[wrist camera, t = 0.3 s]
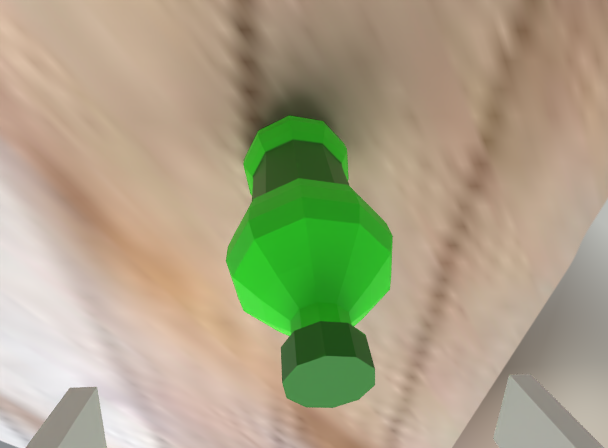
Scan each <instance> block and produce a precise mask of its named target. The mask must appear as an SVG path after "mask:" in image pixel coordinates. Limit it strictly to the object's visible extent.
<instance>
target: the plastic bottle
mask: <svg viewBox="0 0 608 448" xmlns="http://www.w3.org/2000/svg"><path fill="white" fill-rule="evenodd" d="M244 169H245V173H246V177H247V181H248V185H249V189H250V194H251V195H252V203H251V204H250V206H249V208H248V210H247V212H246V214H245V216H244V217H243V219H242V221H241V223H240V225H239V227H238V228H237V230H236V232H235V234H234V236H233V238H232V240H231V242H230V244H229V246H228V250H227V257H226V263H227V266H228V269H229V272H230V275H231V278H232V281H233V284H234V286H235V289H236V292H237V295H238V298H239V301H240V303H241V306H242V308H243V310H244V311H245V312H246V313H248V314H250V315H251V316H253V317H255V318H257V319H258V320H260V321H262V322H263V323H265V324H267V325H268V326H270V327H272V328H274V329H275V330H277V331H279V332H281V333H283V334H286V335H288V336H290V337H289V338H288V339H287V340H286V342H285V343H284V344H283V345H282V347H281V361H282V383H283V387H284V390H285V394H286V397H287V398H288V399H290V400H292V401H294V402H296V403H298V404H300V405H302V406H305V407H321V408H334V407H337V406H340V405H343V404H346V403H349V402H353V401H356V400H359V399H360V398H361V397H362V396H363V395H364V394H365V393H367V392H368V391H369V390H370V389H371V388H372V387H373V386H374V385H375V368H374V364H373V361H372V357H371V353H370V350H369V346H368V342H367V338H366V335H365V334H364V333H362V332H361V331H359V330H358V329H356V328H355V327H354V326H355V325H356V324H357V323H358V322H359V321H361V320H362V319H363V318H364V317H365V316H366V315H367V313H368V312H369V311H370V310H371V309H372V308H373V307H374V306H375V305H376V304H377V303H378V302H379V301H380V299H381V298H382V297H383V296H384V295H385V294H386V293H387V292H388V291H389V290H390V282H391V265H392V237H393V236H392V234H391V232H390V230H389V228H388V226H387V224H386V223H385V222H384V220H383V219H382V218H381V217H380V216H379V215H378V214H377V213H376V212H375V211H374V210H373V209H372V208H371V207H370V206H369V205H368V204H367V203H366V202H365V201H364V200H363V199H362V198H361V197H360V196H359V195H358V194H357V193H356V192H355V191H354V190H353V189H352V188H351V187H350V186H349V183H348V160H347V148H346V146H345V144H344V143H343V142H342V141H341V140H340V139H339V138H338V137H337V135H336V134H335V133H334V132H333V131H332V130H331V129H330V128H329V127H328V126H327V125H326V124H325V123H324V122H323V121H320V120H314V119H308V118H301V117H295V116H287V117H285V118H283V119H281V120H279V121H277V122H275V123H273V124H271V125H269V126H267V127H265V128H263V129H261V130H259V131H258V132H257V134H256V136H255V138H254V140H253V142H252V144H251V146H250V148H249V150H248V152H247V154H246V156H245V158H244Z"/></svg>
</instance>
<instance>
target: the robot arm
mask: <svg viewBox="0 0 608 448" xmlns="http://www.w3.org/2000/svg"><path fill="white" fill-rule="evenodd" d="M493 439H494V441H495V442H496V443H497V445H498V447H499V448H604V447H603V446H602V445H601V444H600V443H599V442H598V441H597V440H596V439H595V438H594V437H593V436H592V435H591V434H590V433H589V432H588V431H587V430H586V429H585V428H584V427H583V426H582V425H581V424H580V423H579V422H578V421H577V420H576V419H575V418H574V417H573V416H572V415H571V414H570V413H569V412H568V411H567V410H566V409H565V408H564V407H563V406H562V405H561V404H560V403H559V402H558V401H557V400H556V399H555V398H554V397H553V396H552V395H551V394H550V393H549V392H548V391H547V390H546V389H545V388H544V387H543V386H542V385H541V384H540V383H539V382H538V381H537V380H536V379H535V378H534V377H533V376H532V375H531V374H516V375H509V378H508V382H507V386H506V390H505V395H504V399H503V402H502V406H501V410H500V414H499V418H498V422H497V426H496V430H495V434H494V438H493ZM26 448H107V446H106V440H105V434H104V428H103V421H102V415H101V409H100V403H99V397H98V391H97V387H81V388H69V390H68V391H67V392H66V394H65V395H64V396H63V398H62V399H61V401H60V402H59V403H58V405H57V406H56V407H55V409H54V410H53V411H52V413H51V414H50V415H49V417H48V418H47V419H46V421H45V422H44V423H43V425H42V426H41V428H40V429H39V430H38V432H37V433H36V434H35V436H34V437H33V438H32V440H31V441H30V442H29V444H28V445H27V446H26Z"/></svg>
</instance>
